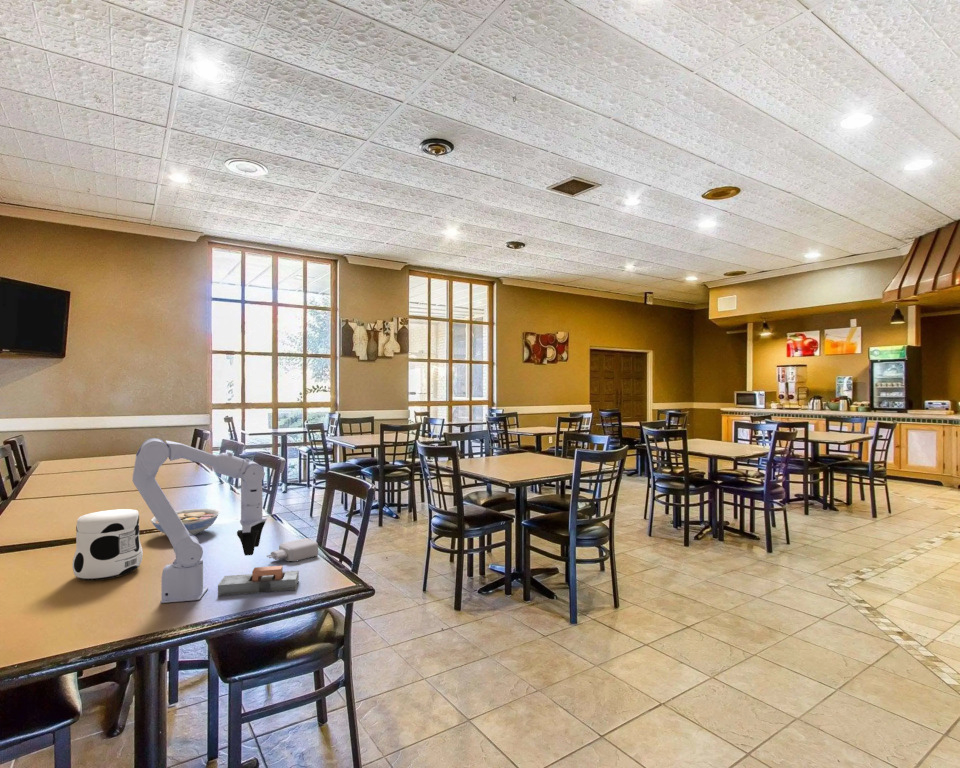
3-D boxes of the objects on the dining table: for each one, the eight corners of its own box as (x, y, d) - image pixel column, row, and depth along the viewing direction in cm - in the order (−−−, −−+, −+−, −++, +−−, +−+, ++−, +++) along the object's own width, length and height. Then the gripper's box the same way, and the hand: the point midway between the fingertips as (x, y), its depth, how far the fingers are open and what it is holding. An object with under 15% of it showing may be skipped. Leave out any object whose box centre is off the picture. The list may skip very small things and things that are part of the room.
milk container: (82, 569, 162) (82, 511, 162) (147, 561, 168) (147, 506, 168) (63, 589, 146) (63, 525, 146) (136, 580, 153) (136, 518, 153)
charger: (261, 561, 169) (305, 550, 180) (273, 568, 163) (318, 556, 173) (261, 546, 169) (305, 537, 180) (273, 553, 163) (318, 542, 173)
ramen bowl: (224, 537, 194) (224, 516, 194) (152, 548, 181) (152, 525, 181) (214, 523, 215) (214, 503, 215) (149, 532, 202) (149, 511, 202)
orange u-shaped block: (252, 591, 144) (252, 571, 144) (254, 586, 147) (254, 567, 147) (280, 588, 146) (280, 569, 146) (282, 584, 149) (282, 565, 149)
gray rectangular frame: (217, 596, 141) (217, 585, 141) (224, 586, 147) (224, 576, 147) (295, 590, 145) (295, 579, 145) (298, 580, 152) (298, 570, 152)
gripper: (261, 508, 144) (261, 557, 144) (270, 497, 158) (271, 542, 158) (234, 510, 142) (234, 559, 142) (246, 498, 156) (246, 543, 156)
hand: (251, 550), depth 150 cm, fingers open, 7 cm apart
